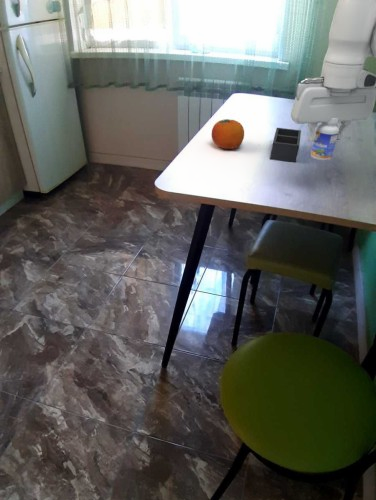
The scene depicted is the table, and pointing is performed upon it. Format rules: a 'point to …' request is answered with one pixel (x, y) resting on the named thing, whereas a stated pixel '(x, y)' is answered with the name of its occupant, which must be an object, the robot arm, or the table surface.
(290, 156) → the open box
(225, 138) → the fruit
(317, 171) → the table surface
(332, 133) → the pill bottle
